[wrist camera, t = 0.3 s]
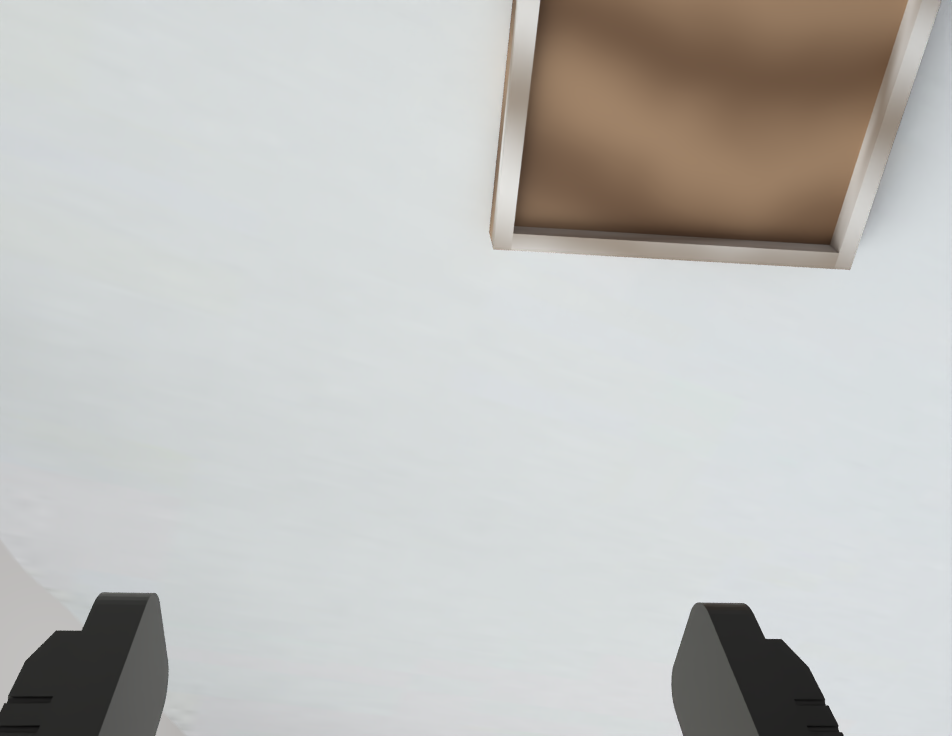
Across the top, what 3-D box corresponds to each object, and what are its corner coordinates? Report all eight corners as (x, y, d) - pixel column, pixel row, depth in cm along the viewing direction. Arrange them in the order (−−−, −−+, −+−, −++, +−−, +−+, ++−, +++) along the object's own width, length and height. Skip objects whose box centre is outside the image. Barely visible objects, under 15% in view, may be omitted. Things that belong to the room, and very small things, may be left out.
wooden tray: (536, -236, 30) (545, -246, 28) (969, -183, 32) (1005, -189, 30) (489, 232, 39) (493, 249, 37) (829, 252, 40) (850, 269, 38)
